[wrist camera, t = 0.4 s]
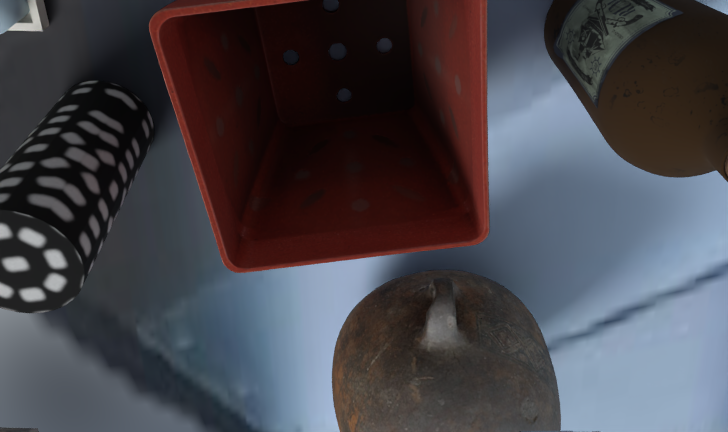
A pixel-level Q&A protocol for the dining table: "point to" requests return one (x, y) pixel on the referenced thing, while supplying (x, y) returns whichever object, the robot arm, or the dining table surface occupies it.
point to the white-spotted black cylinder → (67, 193)
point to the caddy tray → (33, 18)
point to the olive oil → (649, 78)
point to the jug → (443, 360)
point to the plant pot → (331, 125)
